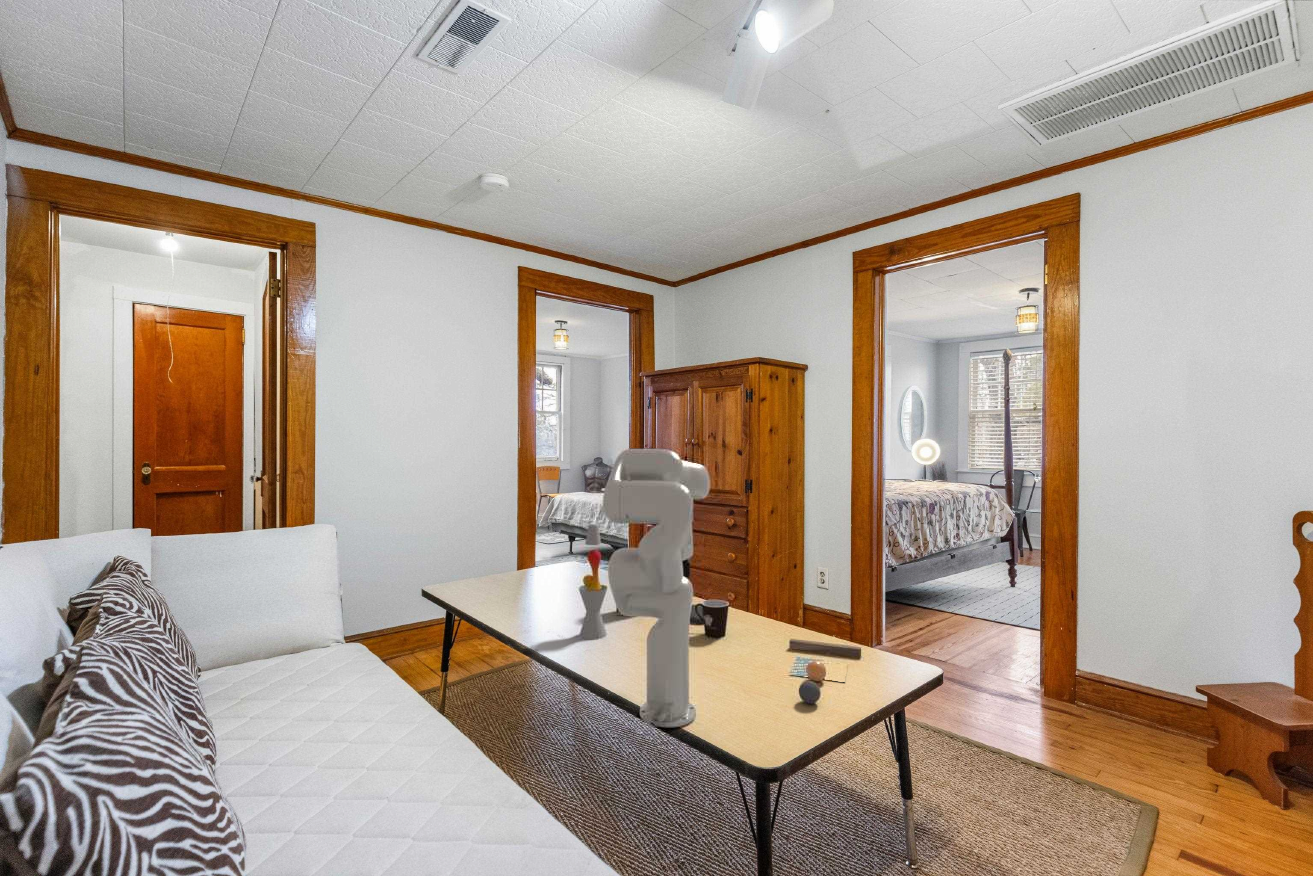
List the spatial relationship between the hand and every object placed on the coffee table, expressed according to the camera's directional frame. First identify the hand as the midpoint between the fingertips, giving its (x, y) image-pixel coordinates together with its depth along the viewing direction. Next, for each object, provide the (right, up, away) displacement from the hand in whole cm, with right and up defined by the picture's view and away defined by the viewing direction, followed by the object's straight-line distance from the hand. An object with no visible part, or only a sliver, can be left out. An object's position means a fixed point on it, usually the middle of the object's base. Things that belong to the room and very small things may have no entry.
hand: (678, 580), depth 161 cm
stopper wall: (+43, -25, +16) cm, 52 cm away
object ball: (+35, -22, -4) cm, 42 cm away
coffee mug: (+12, -25, +33) cm, 43 cm away
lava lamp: (-26, -25, +32) cm, 48 cm away
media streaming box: (+9, -25, +51) cm, 58 cm away
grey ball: (+30, -22, -18) cm, 41 cm away
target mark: (+38, -25, +3) cm, 45 cm away
